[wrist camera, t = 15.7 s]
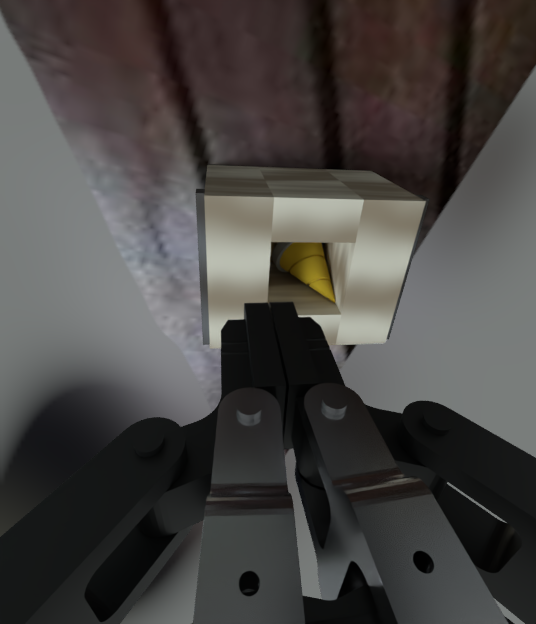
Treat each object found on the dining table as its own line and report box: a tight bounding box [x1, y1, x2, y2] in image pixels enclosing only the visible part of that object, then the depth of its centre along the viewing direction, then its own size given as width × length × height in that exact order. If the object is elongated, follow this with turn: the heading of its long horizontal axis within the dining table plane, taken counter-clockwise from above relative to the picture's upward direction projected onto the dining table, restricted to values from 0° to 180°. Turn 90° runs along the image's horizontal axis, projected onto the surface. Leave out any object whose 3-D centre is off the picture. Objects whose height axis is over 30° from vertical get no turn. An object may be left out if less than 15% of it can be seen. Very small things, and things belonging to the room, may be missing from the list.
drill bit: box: [272, 242, 336, 303], centre depth 34 cm, size 5×5×10 cm
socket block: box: [196, 165, 429, 349], centre depth 33 cm, size 13×17×11 cm
